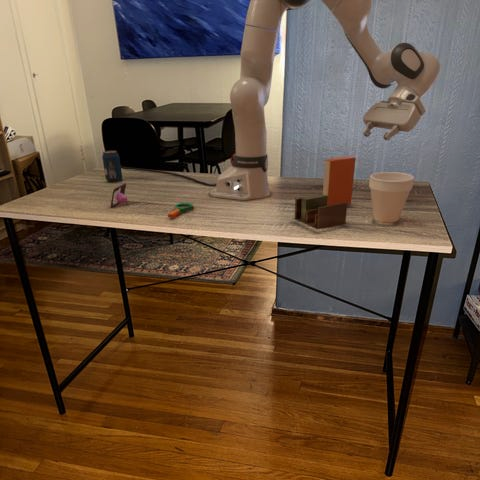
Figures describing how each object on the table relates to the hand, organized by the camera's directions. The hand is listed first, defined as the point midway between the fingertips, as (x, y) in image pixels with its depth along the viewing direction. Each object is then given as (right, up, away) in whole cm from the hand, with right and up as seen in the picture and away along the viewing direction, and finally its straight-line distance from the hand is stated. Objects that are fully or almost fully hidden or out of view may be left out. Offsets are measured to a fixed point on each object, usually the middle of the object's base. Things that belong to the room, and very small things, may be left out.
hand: (375, 137), depth 149 cm
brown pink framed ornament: (-87, -19, +14) cm, 90 cm away
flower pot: (0, -30, -11) cm, 32 cm away
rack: (-20, -31, -11) cm, 39 cm away
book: (-12, -22, +3) cm, 26 cm away
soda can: (-98, 0, +46) cm, 109 cm away
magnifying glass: (-64, -24, +2) cm, 69 cm away
